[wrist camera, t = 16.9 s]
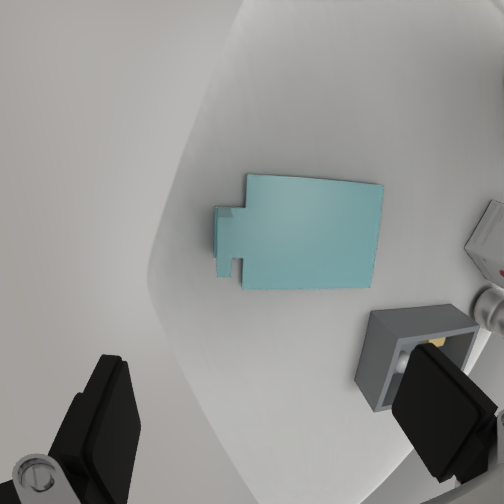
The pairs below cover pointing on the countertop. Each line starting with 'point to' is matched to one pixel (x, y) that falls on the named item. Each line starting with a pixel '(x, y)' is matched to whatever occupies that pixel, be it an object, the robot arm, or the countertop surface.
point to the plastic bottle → (490, 311)
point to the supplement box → (489, 244)
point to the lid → (300, 233)
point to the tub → (409, 346)
